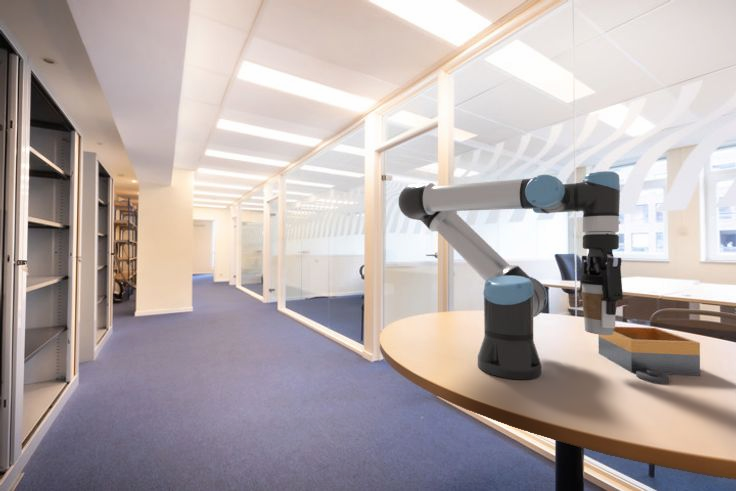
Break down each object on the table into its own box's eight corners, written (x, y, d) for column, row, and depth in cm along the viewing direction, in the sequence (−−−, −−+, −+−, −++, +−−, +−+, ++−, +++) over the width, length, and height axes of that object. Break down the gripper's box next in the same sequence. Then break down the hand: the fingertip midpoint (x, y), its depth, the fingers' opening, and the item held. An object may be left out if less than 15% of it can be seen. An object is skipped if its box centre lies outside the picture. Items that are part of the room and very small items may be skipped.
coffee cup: (627, 337, 79) (628, 275, 79) (587, 335, 80) (588, 274, 80) (608, 329, 87) (609, 272, 87) (573, 327, 88) (574, 271, 88)
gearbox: (631, 372, 82) (631, 340, 82) (598, 353, 96) (598, 326, 97) (700, 375, 79) (699, 342, 79) (655, 355, 94) (655, 327, 94)
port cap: (647, 384, 75) (647, 374, 75) (630, 374, 81) (630, 365, 81) (676, 386, 74) (676, 376, 74) (657, 375, 80) (657, 366, 80)
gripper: (644, 232, 73) (642, 335, 73) (595, 235, 93) (593, 315, 93) (607, 232, 74) (605, 333, 74) (566, 234, 94) (565, 314, 94)
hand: (598, 323), depth 84 cm, fingers closed on coffee cup, 8 cm apart
